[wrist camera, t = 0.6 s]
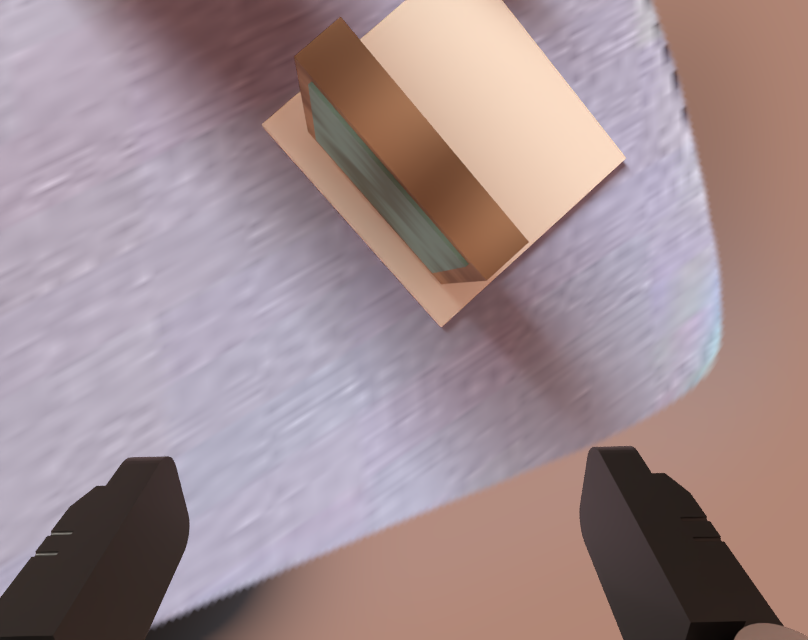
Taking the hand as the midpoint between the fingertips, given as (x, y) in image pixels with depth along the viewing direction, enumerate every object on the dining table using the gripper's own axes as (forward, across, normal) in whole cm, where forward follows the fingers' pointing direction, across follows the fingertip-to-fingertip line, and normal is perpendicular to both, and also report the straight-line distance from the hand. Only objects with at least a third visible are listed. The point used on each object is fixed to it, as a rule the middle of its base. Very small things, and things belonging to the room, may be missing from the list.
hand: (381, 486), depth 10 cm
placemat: (+26, -4, -3) cm, 27 cm away
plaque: (+24, 0, -1) cm, 24 cm away
